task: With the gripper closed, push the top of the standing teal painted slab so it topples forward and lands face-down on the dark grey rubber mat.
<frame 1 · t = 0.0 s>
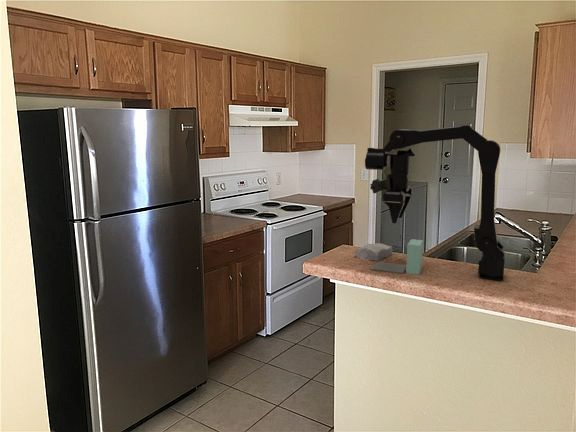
hand: (397, 220, 150), 15 cm above the countertop, tool pointing down, fingers open, 9 cm apart
slab: (413, 270, 147), on the countertop
mat: (389, 268, 150), on the countertop
stone block: (372, 256, 165), on the countertop
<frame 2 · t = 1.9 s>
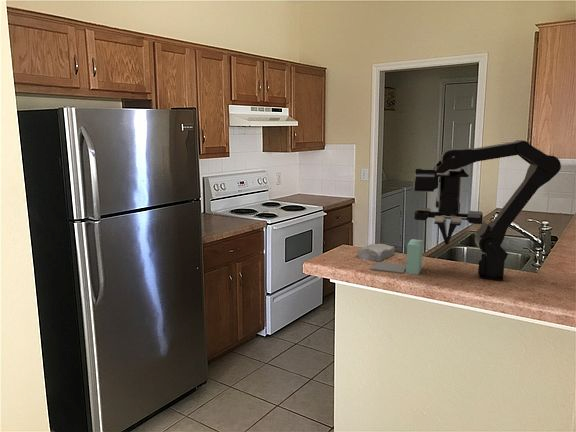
hand: (446, 244, 142), 9 cm above the countertop, tool pointing down, fingers closed
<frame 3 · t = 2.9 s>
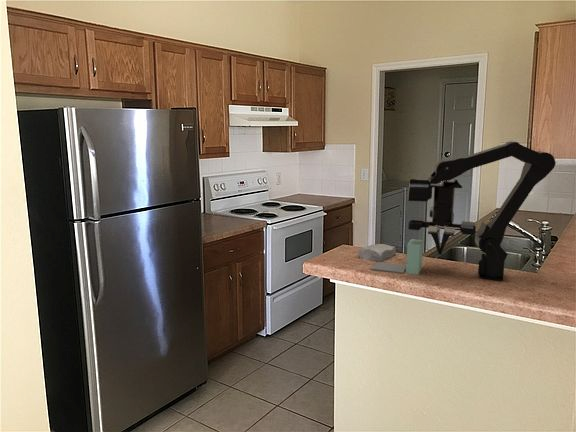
hand: (440, 254, 143), 6 cm above the countertop, tool pointing down, fingers closed
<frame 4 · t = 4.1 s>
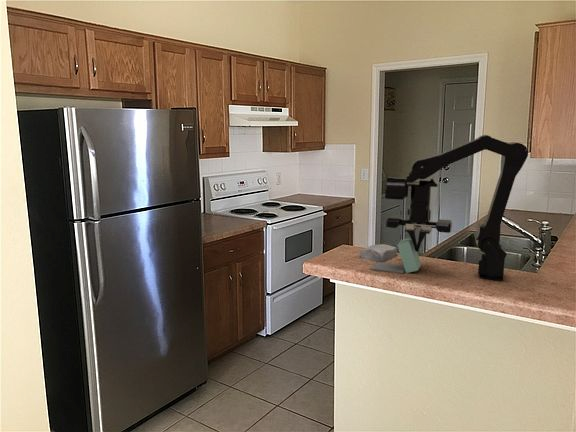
hand: (417, 251, 146), 6 cm above the countertop, tool pointing down, fingers closed
slab: (413, 268, 147), point 1 cm above the countertop, tilted 20°
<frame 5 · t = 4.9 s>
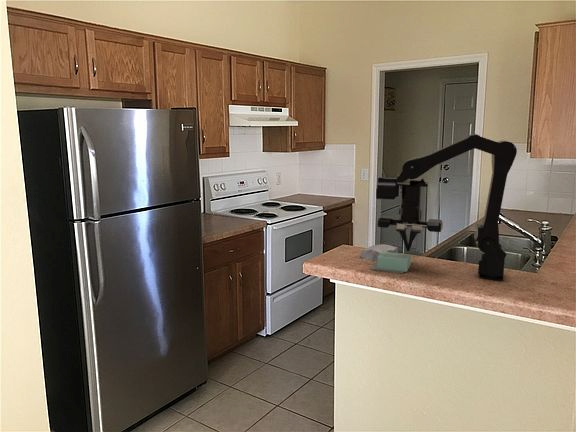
hand: (408, 250, 147), 6 cm above the countertop, tool pointing down, fingers closed
slab: (408, 263, 148), point 2 cm above the countertop, tilted 90°, touching mat
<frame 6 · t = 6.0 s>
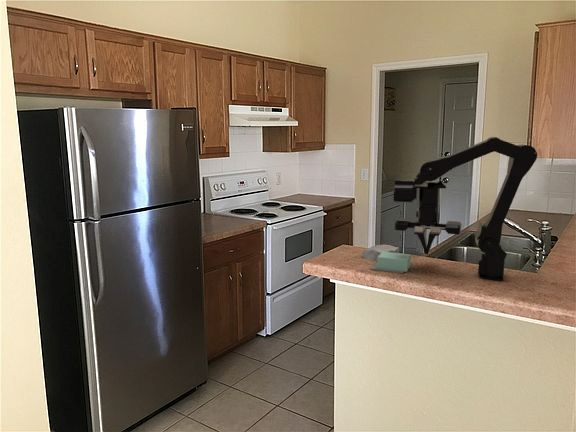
hand: (426, 253, 145), 6 cm above the countertop, tool pointing down, fingers closed
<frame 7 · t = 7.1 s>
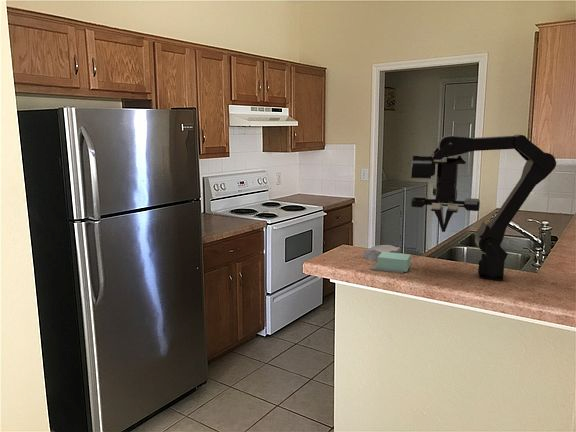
hand: (443, 231, 142), 13 cm above the countertop, tool pointing down, fingers closed
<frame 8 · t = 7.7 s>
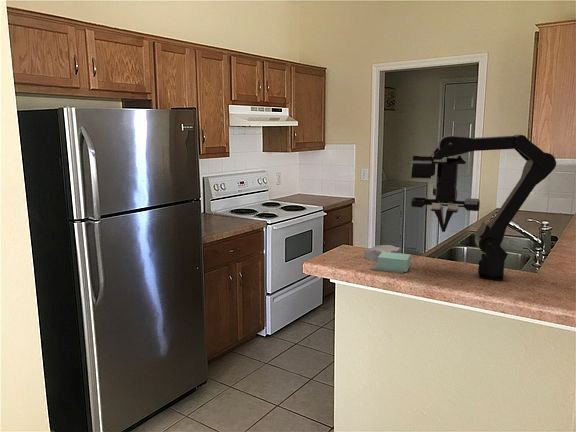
hand: (443, 231, 142), 13 cm above the countertop, tool pointing down, fingers closed
at the end: slab tilted 90°; slab inside the target area (3.8 cm from its centre), point 2.2 cm above the countertop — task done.
